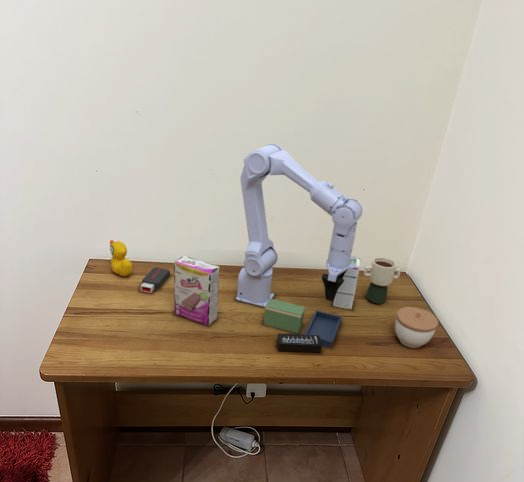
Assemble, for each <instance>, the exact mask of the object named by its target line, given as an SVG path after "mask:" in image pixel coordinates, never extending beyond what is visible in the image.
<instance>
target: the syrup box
mask: <svg viewBox="0 0 524 482" xmlns="http://www.w3.org/2000/svg"><path fill="white" fill-rule="evenodd" d="M350 263H351V264H353V265H354V266H353V269H352V270H350V269H348V270H347V271H346V273H345V274H344V276H343V279H344V282H343V284H342V285H341V286H340V287H339V289H338V291H337V293H336V296H335V298H334V300H333V301H332V306H333V307H336V308H338V309H339V308H340V309H346V310H352V309H353V306H354V305H353V304H354V300H355V295H356V290H357V285H358V279H359V273H360V267H361V257H356V256H353V255H351V258H350Z"/></svg>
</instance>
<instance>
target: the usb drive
mask: <svg viewBox="0 0 524 482" xmlns="http://www.w3.org/2000/svg"><path fill="white" fill-rule="evenodd" d="M170 276H171V271H170V270H169V269H167V268H162V267H157V266H155V267H153V268H152V269H151V270H150V271H149V272H148V273H147V274H146V275H145V276H144V277H143V278H142V279H141V285H139V286H140V292H144V293H149V294H152V293H153V292H155V291H158V290H160V288H161V287H162V286H163V285H164V284H165V283H166V281H168V279H169V278H170Z"/></svg>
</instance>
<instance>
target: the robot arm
mask: <svg viewBox="0 0 524 482" xmlns="http://www.w3.org/2000/svg"><path fill="white" fill-rule="evenodd" d="M268 176H285V177H286V178H288V179H289V180H291V181H292V182H294V183H295V184H296V185H298V186H299V187H301V188H302V189H304V190H305V191H307V192H308V193H309V197H310V200H311V201H312V202H313V203H314V204H315V205H316V206H318V207H319V208H321V209H322V210H323V211H324V212H326V213H327V215H329V216H330V217H331V220H332V222H333V229H332V234H331V238H330V244H329V249H328V255H327V259H326V263H325V265H326V268H327V272H328V273H322V276H321V281H322V283H323V286H324V298H325V300H326V301H331V302H334V298H335V296H336V293H337V291H338V289H339V287H340V286H341V285H342V284H343V282H344V279H343V276H344V274H345V273H346V271H347V270H348V269H350V270H352V269H353V266H354V265H353V264H351V263H350V258H351V256H352V253H353V248H354V242H355V237H356V234H357V233H356V232H357V227H358V220H360V219H361V217H362V215H363V207H362V205H361V203H360V202H359V201H358V199H355V198H350V197H349V196H347V195H344V194H343V193H341V191H339V190H337V189H336V188H335V187H334V185H335V184H334V183H332V182H331V181H329V182H328V181H325V180H323V181H318V180H317V179H316V178H315V177H314V176H312V175H311V174H310V172H308V171H307V170H306V169H305V168H303V167H302V166H301V165H300V164H299V163H298V162H297V161H296V160H295V159H293V158H292V156H291V155H290V154H289V152H288V151H287V150H285V149H283V148H282V147H281V146H280V145H278V144H276V143H268V144H266V145H265V146H263V147H260V148H257V149H254V150H253V149H252V151H250V152H249V153H248V154H247V155H246V156H245V157H244V158H243V167H242V171H241V174H240V187H241V194H242V201H243V208H244V215H245V222H246V228H247V229H246V230H247V236H248V244H247V245H246V248H245V251H244V256H245V257H244V261H243V267H242V268H241V269H240V271H239V274H238V277H237V288H236V297H235V300H236V301H238V302H243V303H245V304H246V303H247V304H251V305H254V306H258V307H262V308H265V306H266V304H267V303H268V301H269V300H270V298H271V299H274V296H275V293H273V292H271V289H272V282H273V281H272V280H273V272H274V271H273V267H274V265H275V264H276V263H277V262H278V259H279V256H278V252H277V250H276V249H275V247H274V242H273V241H272V240H271V239H270V238H269V232H268V224H267V216H266V209H265V198H264V192H263V182H264V180H265V179H266V178H267V177H268Z"/></svg>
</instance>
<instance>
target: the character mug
mask: <svg viewBox="0 0 524 482" xmlns="http://www.w3.org/2000/svg"><path fill="white" fill-rule="evenodd" d="M368 270H369V272H368ZM401 272H402V269H401V268H397V263H396V261H395V260H393V259H391V258H389V257H385V256H377V257H374V258H373V259H372V261H371V264H370V265H366V266H364V269H363V274H362V275H363V276H364V277H368V280H369V281H370V283H369V286H368V288H367V290H366V294H365V297H366V299H367V300H368V301H370V302H371V303H374V304H383V303H385V302H387V297H388V288H389V287H388V286H390V285H391V284H392V283H393V281H394V279H397V280H398V279H399V278H400V276H401ZM395 273H396V274H395Z"/></svg>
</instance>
